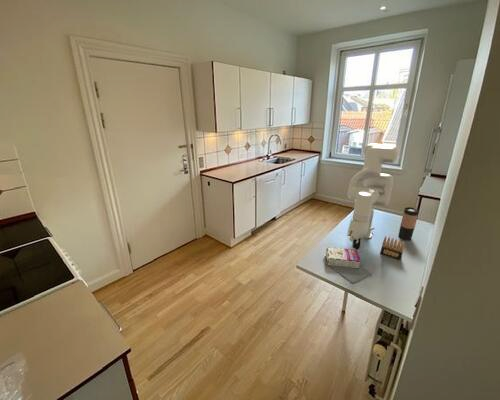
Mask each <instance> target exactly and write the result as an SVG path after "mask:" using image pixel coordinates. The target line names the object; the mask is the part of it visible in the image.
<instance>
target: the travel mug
mask: <svg viewBox="0 0 500 400" xmlns="http://www.w3.org/2000/svg"><path fill="white" fill-rule="evenodd" d="M419 213H420V210H419V209H415V208H414V207H404V210H403V214H402V218H401V222H400V226H399V231H398V238H399V240H403V241H411V240H412V237H413V234H414V230H415V227H416V224H417V221H418V216H419Z"/></svg>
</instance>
